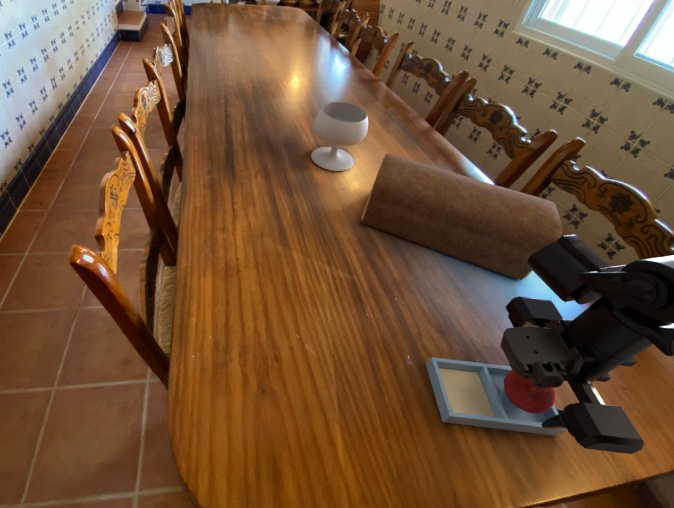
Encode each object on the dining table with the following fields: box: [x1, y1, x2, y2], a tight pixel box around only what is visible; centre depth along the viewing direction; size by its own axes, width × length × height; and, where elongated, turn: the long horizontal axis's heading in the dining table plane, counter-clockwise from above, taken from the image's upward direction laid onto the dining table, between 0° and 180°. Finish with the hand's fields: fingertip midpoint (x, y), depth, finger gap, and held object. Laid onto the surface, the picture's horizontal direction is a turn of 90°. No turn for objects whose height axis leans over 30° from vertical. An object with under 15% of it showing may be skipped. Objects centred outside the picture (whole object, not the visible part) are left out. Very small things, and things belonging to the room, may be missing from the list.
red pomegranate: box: [503, 370, 556, 414], centre depth 51 cm, size 6×6×8 cm
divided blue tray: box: [425, 356, 568, 437], centre depth 54 cm, size 8×16×2 cm, turn 85°
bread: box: [360, 152, 563, 281], centre depth 77 cm, size 14×34×14 cm, turn 63°
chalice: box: [310, 101, 369, 172], centre depth 97 cm, size 14×14×15 cm
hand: (527, 390), depth 52 cm, fingers open, 9 cm apart
